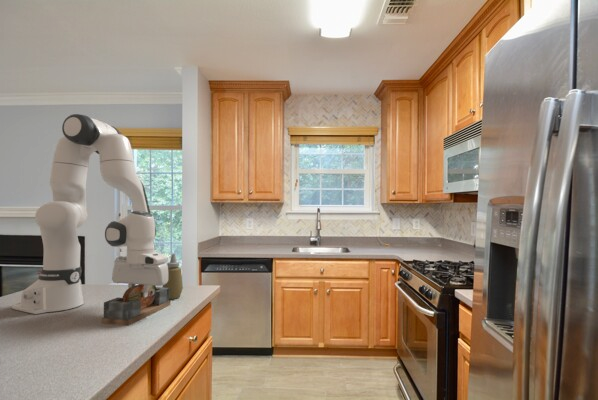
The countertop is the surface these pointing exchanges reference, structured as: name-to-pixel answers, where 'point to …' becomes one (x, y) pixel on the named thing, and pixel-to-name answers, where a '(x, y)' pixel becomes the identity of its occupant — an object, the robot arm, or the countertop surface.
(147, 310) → the stand
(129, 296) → the tin
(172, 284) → the squeeze bottle
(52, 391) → the countertop surface
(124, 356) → the countertop surface
